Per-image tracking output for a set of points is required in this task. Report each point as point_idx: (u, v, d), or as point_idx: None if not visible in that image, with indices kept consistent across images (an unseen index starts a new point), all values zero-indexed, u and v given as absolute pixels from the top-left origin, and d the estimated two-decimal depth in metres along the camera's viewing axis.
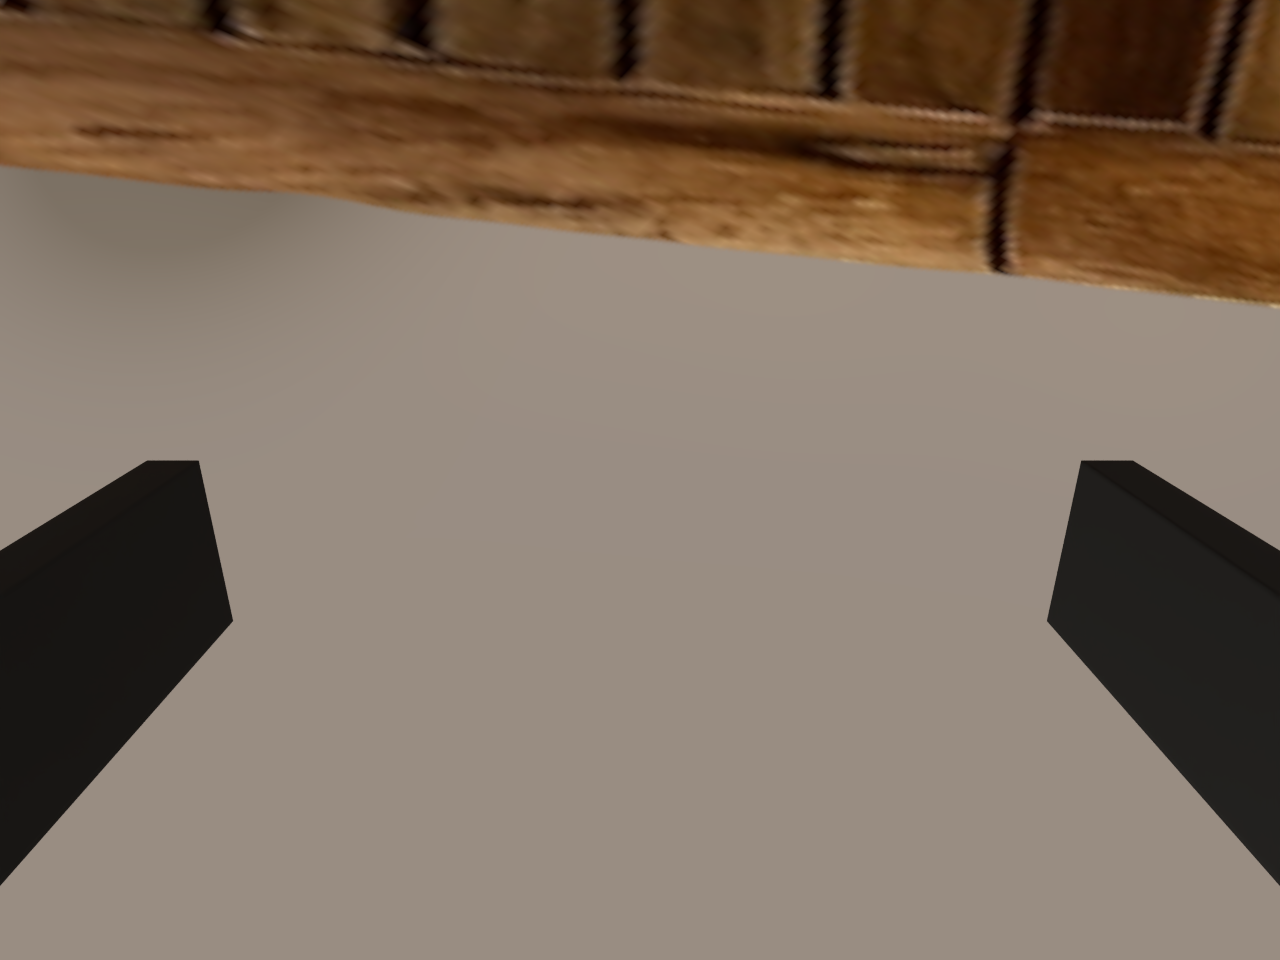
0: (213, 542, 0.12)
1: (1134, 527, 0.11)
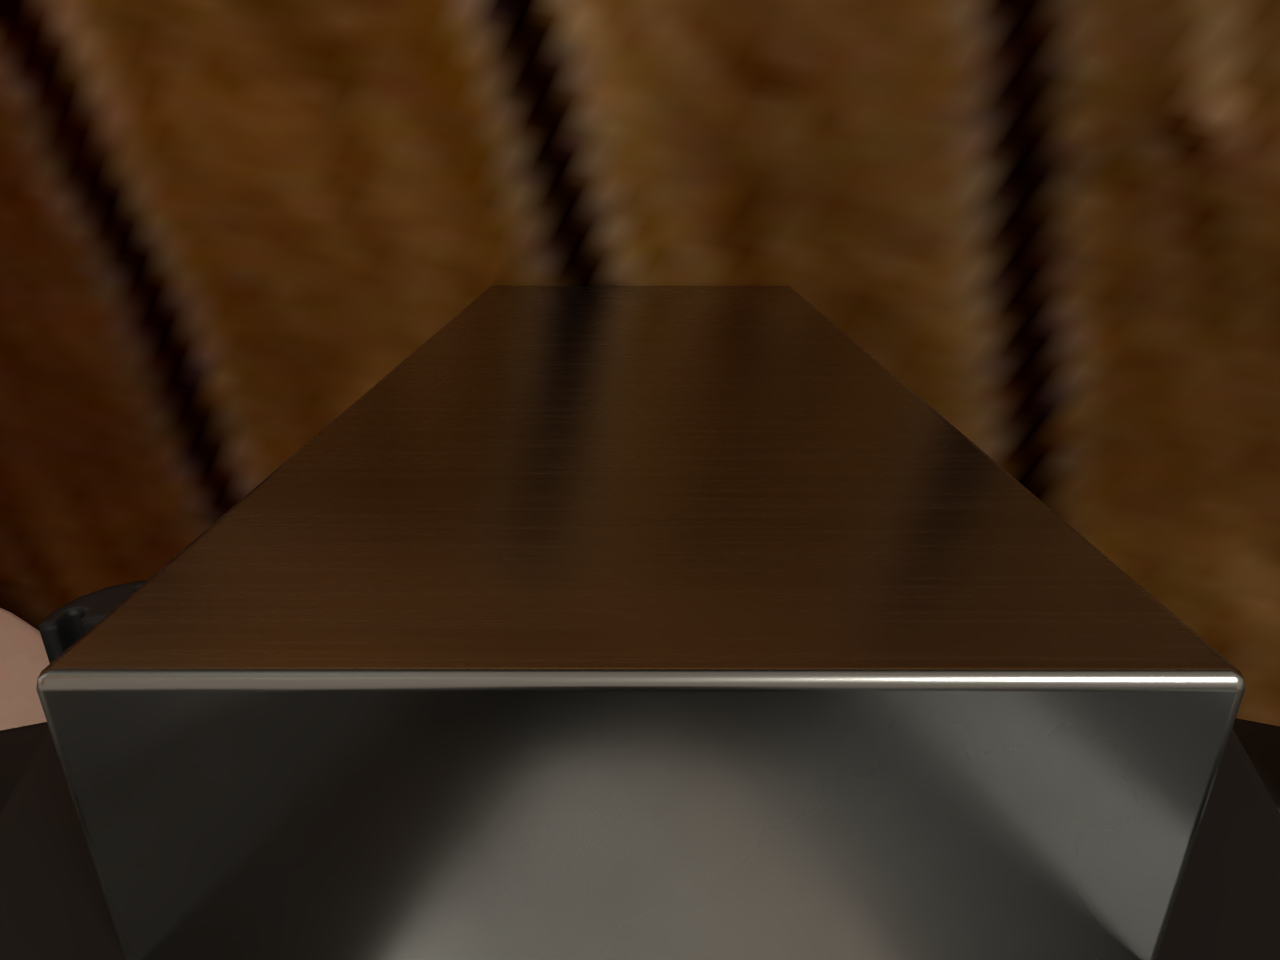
0: None
1: None
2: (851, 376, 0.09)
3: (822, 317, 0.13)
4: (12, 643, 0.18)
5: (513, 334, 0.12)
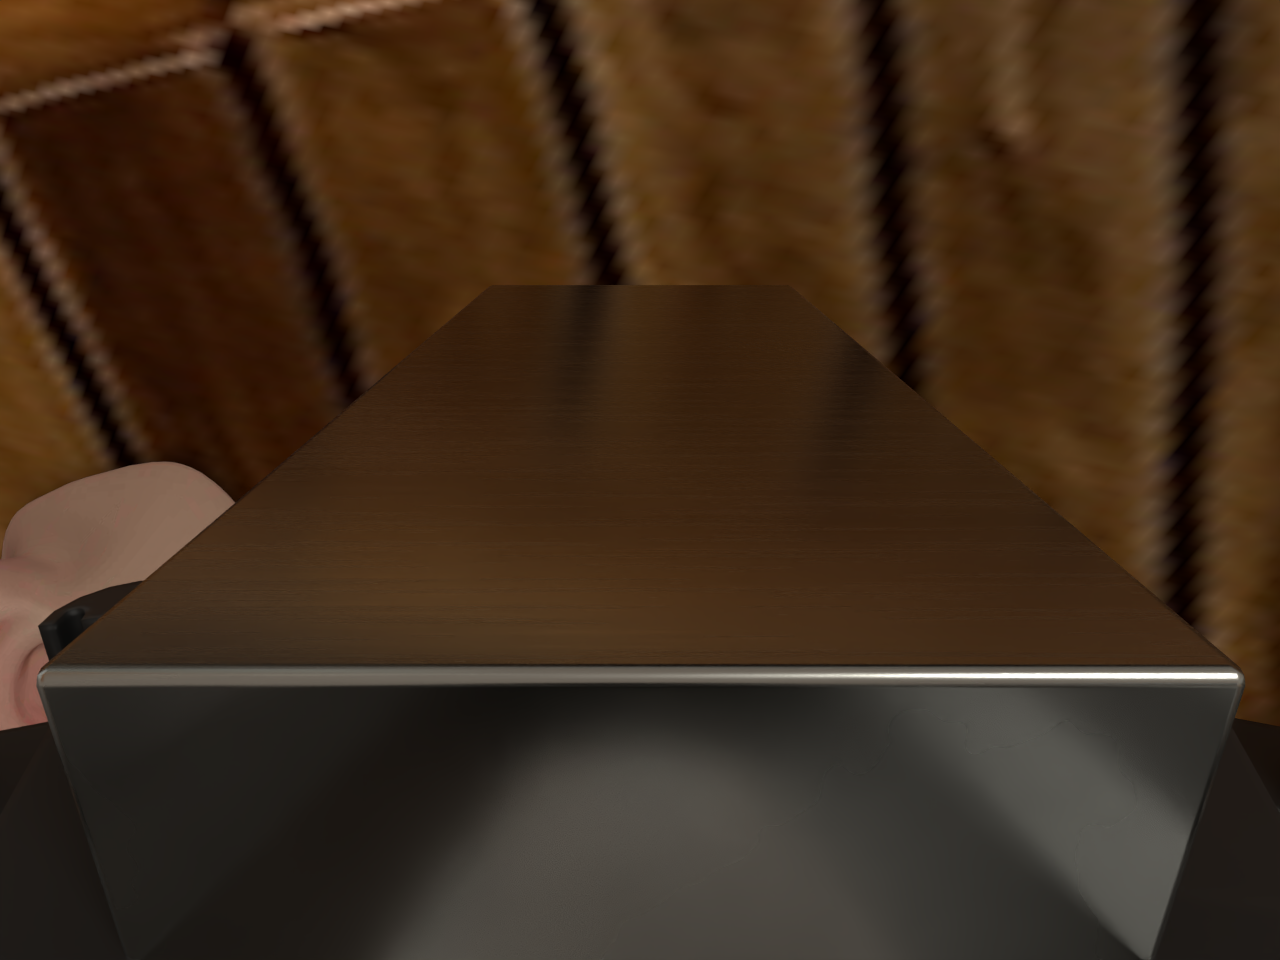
0: None
1: None
2: (851, 374, 0.09)
3: (822, 316, 0.13)
4: (204, 493, 0.26)
5: (513, 333, 0.12)
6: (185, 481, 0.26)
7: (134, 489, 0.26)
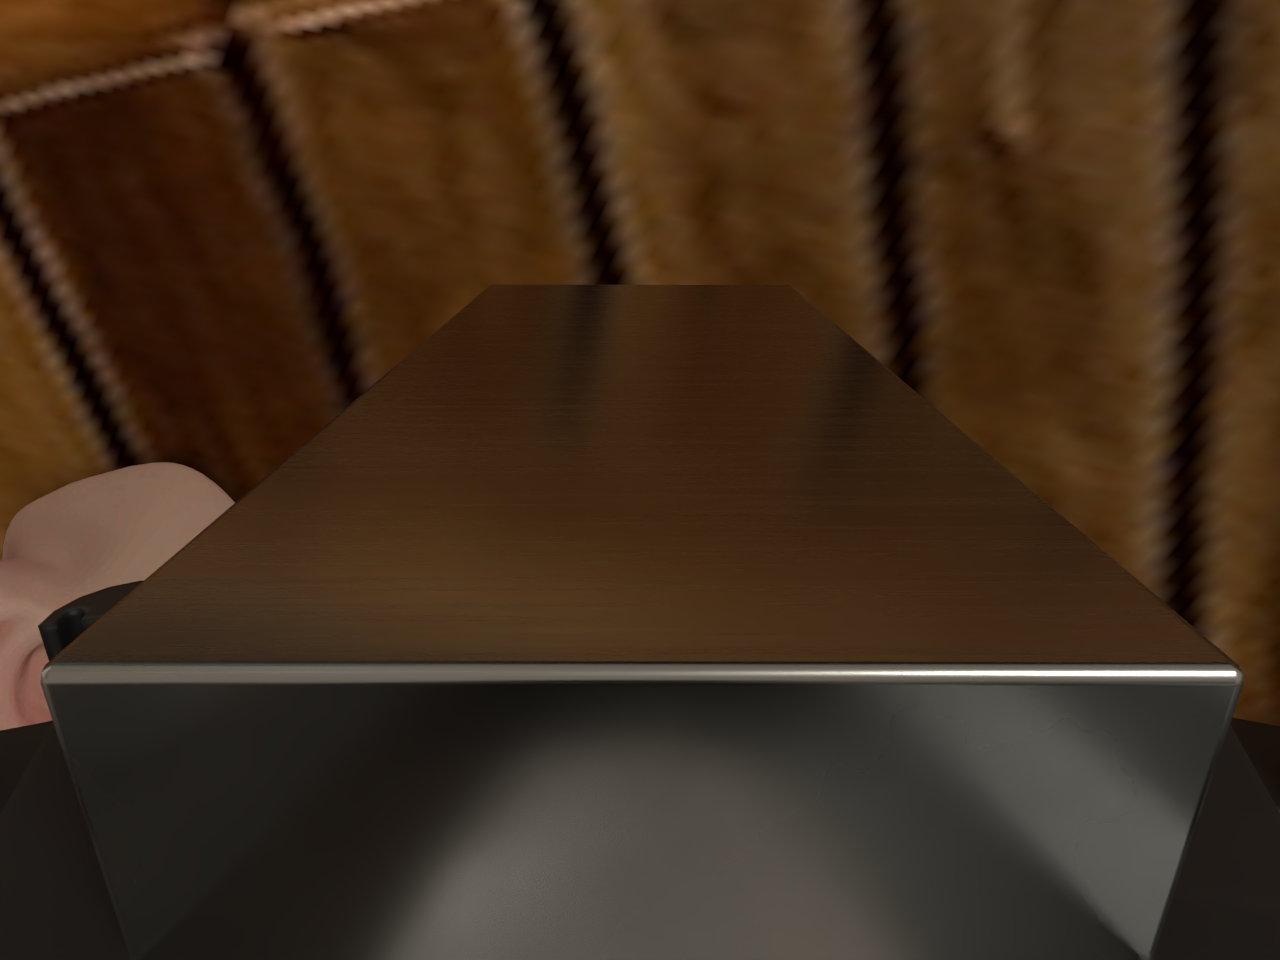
0: None
1: None
2: (851, 374, 0.09)
3: (822, 316, 0.13)
4: (204, 494, 0.26)
5: (513, 332, 0.12)
6: (185, 482, 0.26)
7: (134, 490, 0.26)
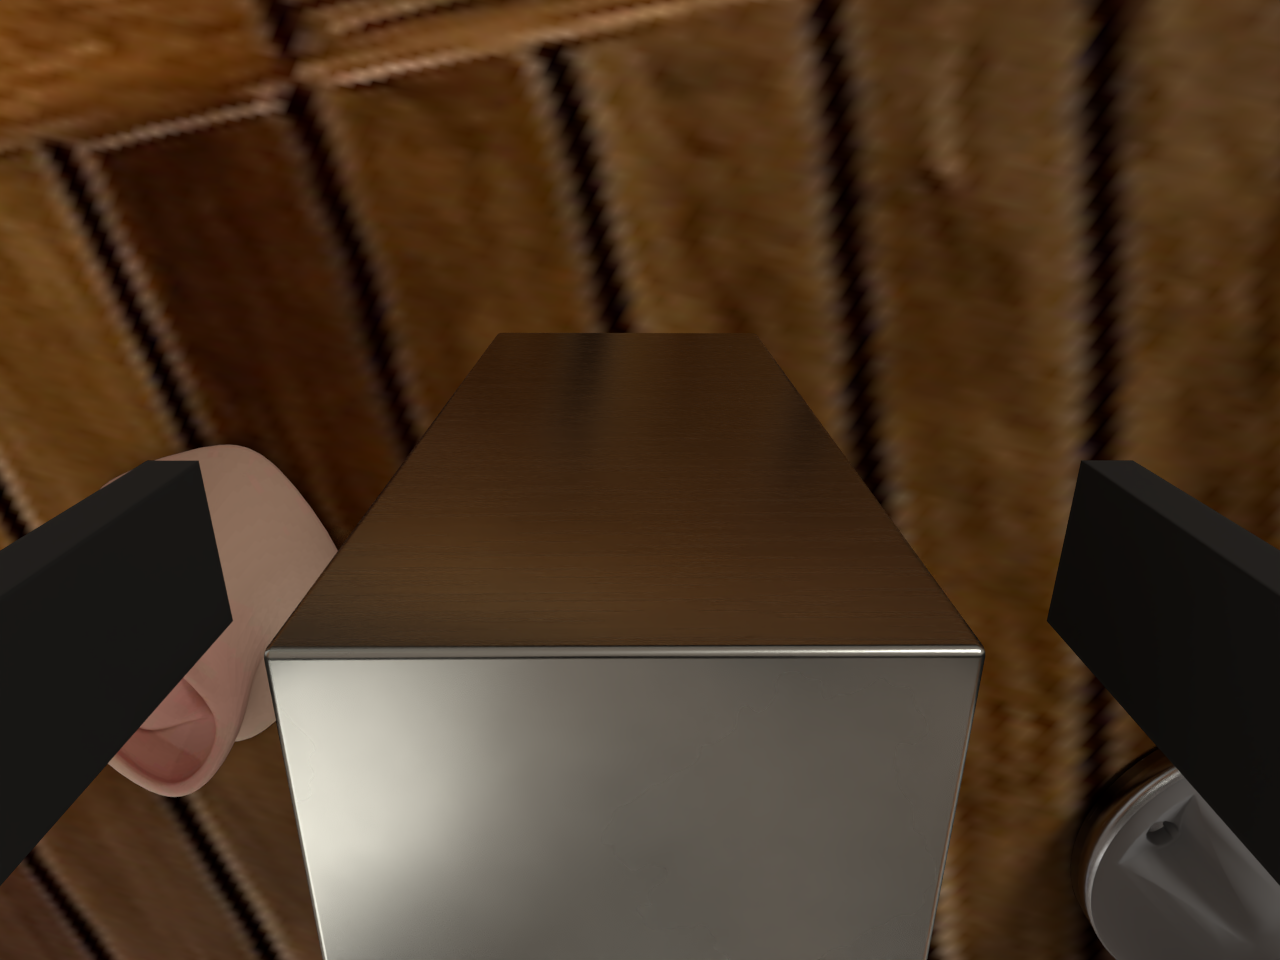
0: (213, 542, 0.12)
1: (1133, 527, 0.11)
2: (790, 429, 0.12)
3: (777, 368, 0.15)
4: (263, 472, 0.31)
5: (524, 386, 0.14)
6: (247, 461, 0.30)
7: (204, 468, 0.30)
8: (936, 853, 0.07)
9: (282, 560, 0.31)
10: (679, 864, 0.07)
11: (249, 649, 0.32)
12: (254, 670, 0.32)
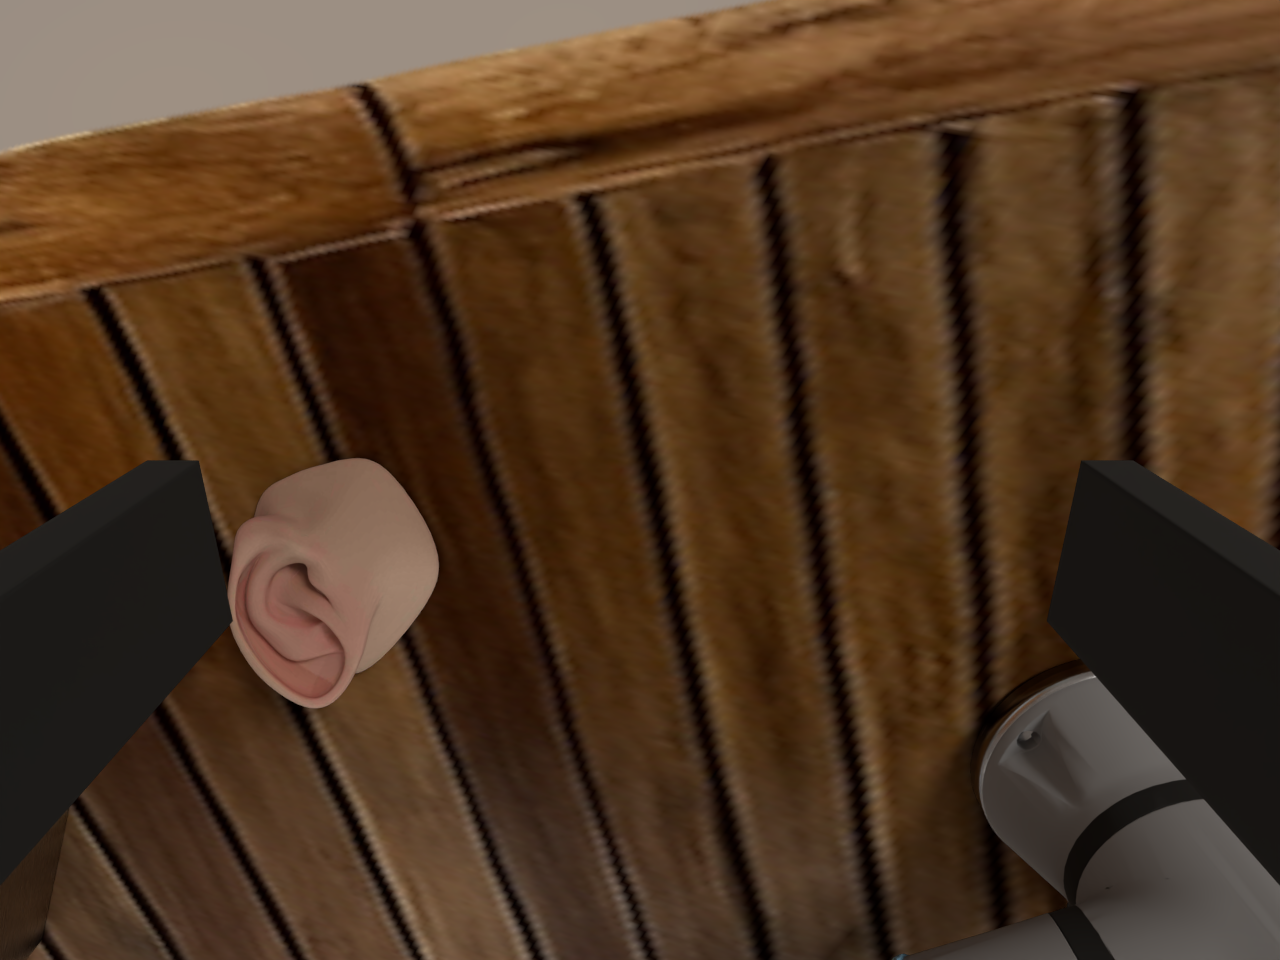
0: (213, 542, 0.12)
1: (1134, 527, 0.11)
2: None
3: None
4: (382, 477, 0.44)
5: None
6: (371, 470, 0.44)
7: (342, 474, 0.44)
8: None
9: (393, 539, 0.45)
10: None
11: (369, 602, 0.45)
12: (372, 618, 0.45)
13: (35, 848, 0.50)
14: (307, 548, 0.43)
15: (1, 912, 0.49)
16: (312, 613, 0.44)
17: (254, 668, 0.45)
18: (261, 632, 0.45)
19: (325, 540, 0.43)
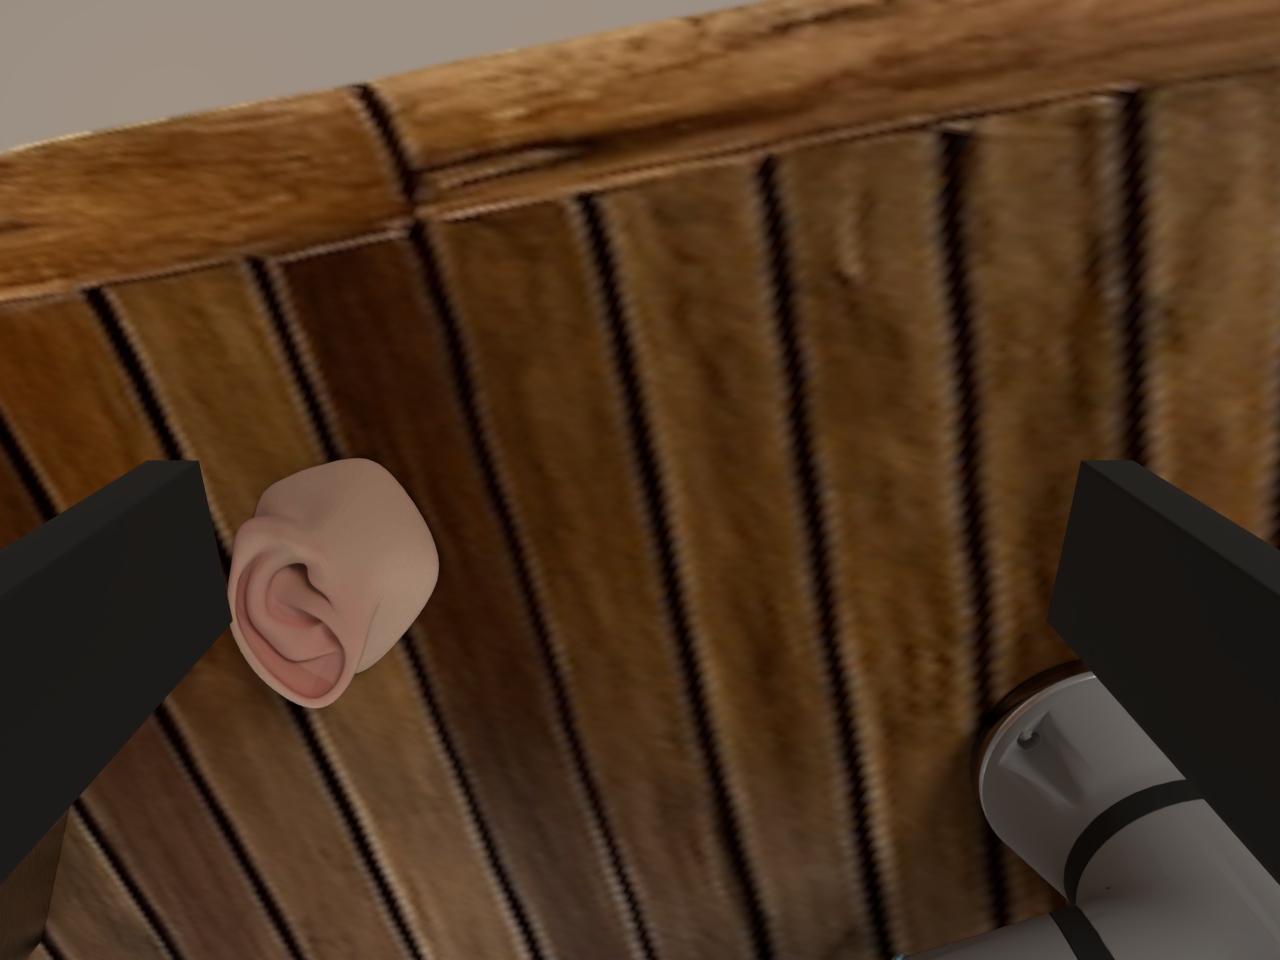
0: (213, 542, 0.12)
1: (1134, 527, 0.11)
2: None
3: None
4: (382, 477, 0.44)
5: None
6: (371, 470, 0.44)
7: (342, 474, 0.44)
8: None
9: (393, 539, 0.45)
10: None
11: (369, 602, 0.45)
12: (372, 618, 0.45)
13: (35, 848, 0.50)
14: (307, 548, 0.43)
15: (1, 912, 0.49)
16: (312, 613, 0.44)
17: (254, 668, 0.45)
18: (261, 632, 0.45)
19: (325, 540, 0.43)
